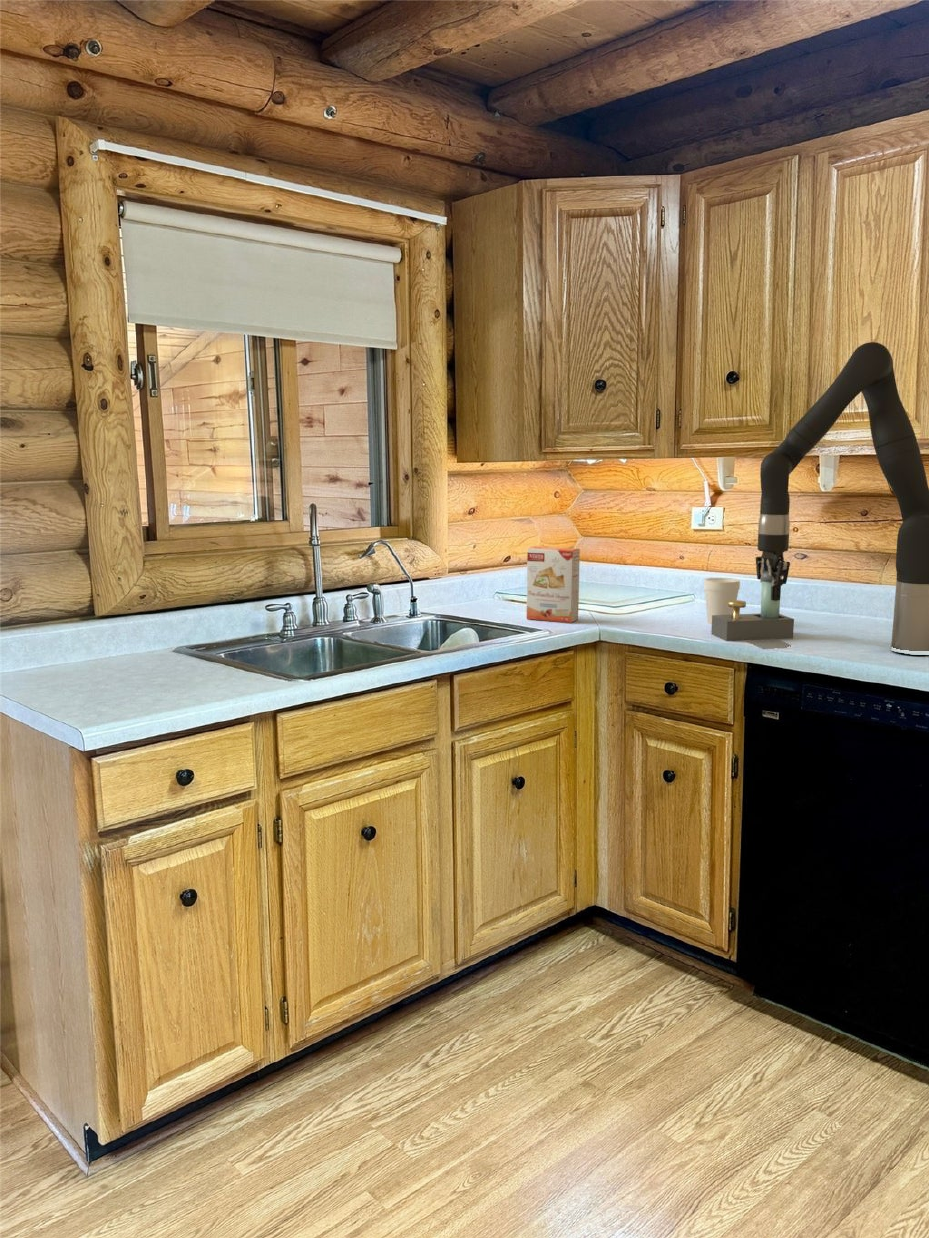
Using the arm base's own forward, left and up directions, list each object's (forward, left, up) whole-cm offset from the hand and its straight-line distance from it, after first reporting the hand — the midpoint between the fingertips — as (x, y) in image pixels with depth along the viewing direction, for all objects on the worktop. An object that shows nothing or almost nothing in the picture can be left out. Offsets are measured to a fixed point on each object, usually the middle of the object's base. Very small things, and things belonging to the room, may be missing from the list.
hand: (770, 598), depth 245 cm
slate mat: (+5, +10, -11) cm, 16 cm away
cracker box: (+48, -37, -11) cm, 61 cm away
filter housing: (+5, 0, -11) cm, 12 cm away
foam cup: (+5, -19, -11) cm, 22 cm away
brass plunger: (+9, 0, -10) cm, 13 cm away
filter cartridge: (0, 0, -6) cm, 6 cm away
